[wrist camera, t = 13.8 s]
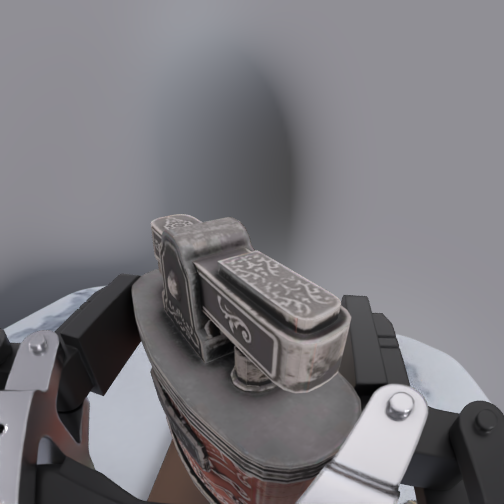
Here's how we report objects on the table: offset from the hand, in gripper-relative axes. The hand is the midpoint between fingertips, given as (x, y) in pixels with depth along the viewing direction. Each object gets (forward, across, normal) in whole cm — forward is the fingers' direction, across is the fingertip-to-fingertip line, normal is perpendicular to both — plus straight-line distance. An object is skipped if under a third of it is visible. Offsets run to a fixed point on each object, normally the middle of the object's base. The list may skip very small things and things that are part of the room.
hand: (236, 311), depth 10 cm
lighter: (-2, 0, +7) cm, 7 cm away
